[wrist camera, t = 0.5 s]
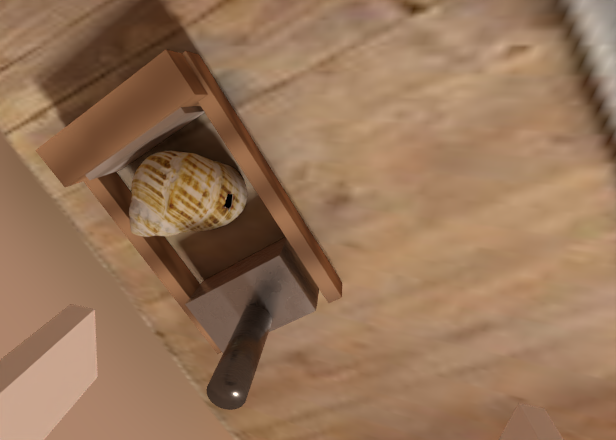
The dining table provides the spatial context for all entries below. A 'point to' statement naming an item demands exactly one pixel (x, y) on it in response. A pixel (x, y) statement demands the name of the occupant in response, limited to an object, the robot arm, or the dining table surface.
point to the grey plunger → (250, 314)
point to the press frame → (153, 130)
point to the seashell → (183, 194)
